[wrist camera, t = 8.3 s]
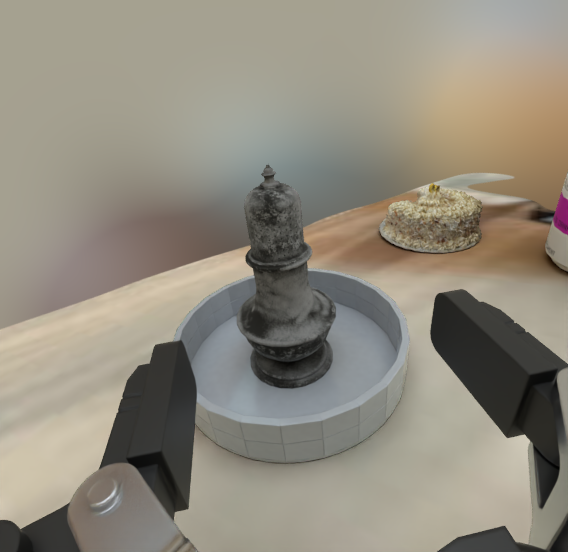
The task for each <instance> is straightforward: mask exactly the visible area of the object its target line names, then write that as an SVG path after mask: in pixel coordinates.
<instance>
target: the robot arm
mask: <svg viewBox="0 0 568 552" xmlns="http://www.w3.org/2000/svg"><path fill="white" fill-rule="evenodd" d="M430 334H431V340H432V343H433V346H434V348H435V349H436V351H437V352H438V353H439V355H440V356H441V357H442V358H443V360H444V361H445V362H446V363H447V364H448V366H449V367H450V368H451V369H452V371H453V372H454V373H455V374H456V376H457V377H458V378H459V379H460V381H461V382H462V383H463V384H464V385H465V387H466V388H467V389H468V390H469V392H470V393H471V394H472V395H473V397H474V398H475V399H476V400H477V402H478V403H479V404H480V405H481V406H482V408H483V409H484V410H485V411H486V413H487V414H488V415H489V416H490V418H491V419H492V420H493V421H494V423H495V424H496V425H497V426H498V427H499V429H500V430H501V431H502V432H503V434H504V435H505V436H506V437H507V438H510V437H515V436H519V435H524V434H525V435H526V436H527V438H528V439H529V440H530V443H529V446H528V459H529V474H530V489H531V504H532V525H531V531H530V536H529V544H524V543H519V542H515V541H514V539H513V538H512V536H511V534H510V533H509V531H508V530H507V528H506V527H505V526H502V527H498V528H494V529H490V530H486V531H482V532H478V533H474V534H470V535H466V536H462V537H458V538H456V539H455V540H453V541H452V542H450V543H449V544H448V545H446V546H445V547H443V548H442V549H440V550H439V551H437V552H568V364H567V363H566V362H565V361H563V360H562V359H561V358H560V357H558V356H557V355H556V354H555V353H553V352H552V351H551V350H550V349H548V348H547V347H546V346H545V345H543V344H542V343H541V342H540V341H538V340H537V339H536V338H535V337H533V336H532V335H531V334H530V333H529V332H525V329H524V328H522V327H521V326H520V325H519V324H517V323H514V320H512V319H511V318H510V317H509V316H507V315H506V314H505V313H504V312H502V311H501V310H500V309H497V308H495V307H493V306H491V305H489V304H487V303H484V302H479V301H478V300H477V299H475V298H474V297H473V296H472V295H471V294H469V293H468V292H467V291H466V290H463V289H460V290H455V291H449V292H444V293H439V294H437V296H436V298H435V302H434V309H433V317H432V324H431V332H430ZM122 397H123V399H121V402H120V405H119V408H118V411H119V412H118V413H117V415H116V418H115V421H114V424H113V427H112V431H111V434H110V437H109V440H108V443H107V446H106V450H105V453H104V456H103V459H102V462H101V465H100V468H99V470H98V471H96V472H95V473H93V474H92V475H91V476H89V477H88V478H87V479H86V480H85V481H84V482H83V483H82V484H81V486H80V487H79V488H78V489H77V491H76V492H75V494H74V496H73V498H72V500H71V502H70V503H68V504H67V505H65V506H64V507H62V508H60V509H58V510H56V511H55V512H53V513H51V514H49V515H47V516H45V517H43V518H41V519H39V520H37V521H35V522H33V523H31V524H30V525H28V526H26V527H24V528H22V529H20V528H19V527H18V526H17V525H16V524H15V523H13V522H11V521H8V520H0V552H198V551H197V549H196V548H195V547H194V545H193V544H192V543H191V542H190V540H189V539H188V538H185V536H184V535H183V534H182V533H181V531H180V530H179V528H178V527H177V525H176V524H175V523H174V514H175V512H177V511H181V510H186V509H188V508H189V495H190V482H191V469H192V455H193V442H194V429H195V416H196V403H197V387H196V381H195V376H194V373H193V370H192V367H191V364H190V361H189V358H188V355H187V352H186V349H185V346H184V343H183V342H182V340H179V341H173V342H168V343H163V344H157V345H155V347H154V349H153V353H152V357H151V361H150V364H145V365H140V366H138V367H137V369H136V370H135V371H134V373H133V374H132V375H131V376H130V378H129V379H128V380H127V383H126V386H125V389H124V393H123V396H122Z"/></svg>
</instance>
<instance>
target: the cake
mask: <svg viewBox="0 0 568 552" xmlns="http://www.w3.org/2000/svg"><path fill="white" fill-rule="evenodd" d="M417 195H418V199H417V201H416V202H412V201H410V202H409V201H408V200H407V201H400V202H396V203H393V204H391V205H389V208H388V215H387V216H386V219H384V221H382V223H381V224H380V227H379V230H380V233H381V235H382V236H383V237H384V238H385V239H387V240H388V241H389V242H391V243H392V244H395V245H396V246H398V247H399V246H400V247H402V248H405V249H411V250H414V251H420V252H431V253H439V252H441V253H447V252H455V251H458V250H463V249H466V248H470V247H471V246H474V245H475V244H476V243H477V242H479V240H480V239H481V235H482V234H481V230H480V229H479V226H478V225H479V221H480V220H479V218H480V215H481V214H480V212H481V211H482V208H483V207H482V206H481V203H482V202H481V201H480V200H479V201H477V199H474V198H473V197H472V196H470V195H466V194H465V192H462V191H460V192H458V191H457V190H455V191H454V190H449V189H448V190H444V189H442V188H440V186H437V185H434V184H433V183H432V184H431V185H430V186H429V187H425V188H423V189H420V190H419V191H418V193H417Z"/></svg>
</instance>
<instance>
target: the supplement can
mask: <svg viewBox="0 0 568 552" xmlns="http://www.w3.org/2000/svg"><path fill="white" fill-rule="evenodd" d="M545 248H546V253H547V254H548V255H549V256H550V257H551V258H552V261H553V262H554V263H555V264H556V265H557V266H558V267H560V268H561V269H563V270H565V271H567V272H568V172H567V176H566V179H565V182H564V185H563V189H562V192H561V195H560V199H559V202H558V205H557V208H556V211H555V215H554V218H553V221H552V224H551V228H550V231H549V234H548V238H547V241H546V244H545Z"/></svg>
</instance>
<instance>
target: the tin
mask: <svg viewBox="0 0 568 552" xmlns="http://www.w3.org/2000/svg"><path fill="white" fill-rule="evenodd" d="M308 280H309V285H310V287H313V288H316V289H318V290H320V291H322V292H324V293H326V294H327V295H328V296H329V297H330V298H331V299H332V300H333V302H334V304H335V306H336V318H335V320H334V322H333V324H332V326H331V329H330V331H329V333H328V335H327V337H326V340H327V341H328V343H329V344H330V346H331V348H332V351H333V361H332V364H331V366H330V369H329V370H328V371H327V372H326V374H325V375H324V376H323V377H321V378H320V379H319V380H317V381H316V382H314V383H312V384H309V385H307V386H304V387H299V388H293V389H288V388H277V387H273V386H270V385H268V384H266V383H264V382H262V381H261V380H260V379H259V378H258V377H257V376H256V375H255V374H254V372H253V370H252V368H251V361H250V357H251V354H252V351H253V349H254V348H253V347H252V346H251V344H250V343H249V342H248V340H247V338H246V337H245V336H244V335H243V334H242V333H241V332H240V330H239V328H238V326H237V313H238V311H239V308H240V307H241V306H242V305H243V303H244V302H245V301H246V300H247V299H249V298H250V297H251V296H253V295H254V294H256V283H255V277H254V275H253V276H249V277H245V278H243V279H240V280H238V281H236V282H233V283H231V284H228V285H226V286H224V287H222V288H221V289H219V290H217V291H216V292H214V293H212V294H211V295H209V296H207V297H206V298H204V299H203V300H202V301H201V302H200V303H199V304H198V305H197V306H195V307H194V308H193V309H192V310H191V311H190V312H189V313H188V314H187V316H186V317H185V319H184V320H183V321H182V323H181V324H180V326H179V327H178V329H177V330H176V334H175V337H174V340H173V341H179V340H182V342H183V343H184V346H185V349H186V352H187V355H188V358H189V361H190V364H191V367H192V370H193V373H194V376H195V381H196V387H197V403H196V416H195V424H196V425H197V426H198V428H199V429H200V430H201V431H202V432H203V433H204V434H205V435H206V436H207V437H208V438H210V439H211V440H212V441H214V442H215V443H216V444H218V445H219V446H221V447H223V448H225V449H227V450H229V451H231V452H233V453H235V454H238V455H241V456H244V457H247V458H250V459H255V460H260V461H265V462H278V463H293V462H306V461H311V460H316V459H321V458H325V457H328V456H331V455H334V454H337V453H340V452H343V451H345V450H347V449H349V448H351V447H353V446H355V445H357V444H359V443H360V442H362V441H363V440H365V439H366V438H368V437H369V436H370V435H372V434H373V433H374V432H375V431H376V430H377V429H378V428H380V427H381V426H382V425H383V424H384V423H385V421H386V420H387V419H388V418H389V416H390V415H391V414H392V413H393V411H394V409H395V407H396V406H397V404H398V402H399V400H400V398H401V395H402V391H403V388H404V382H405V378H406V372H407V363H408V353H409V343H410V338H409V332H408V327H407V322H406V318H405V317H404V315H403V314H402V312H401V310H400V309H399V307H398V306H397V304H396V303H395V301H394V300H393V299H391V298H390V297H389V296H388V295H387V294H385V293H384V292H383V291H382V290H381V289H380V288H378V287H376V286H374V285H372V284H370V283H368V282H366V281H364V280H362V279H360V278H358V277H354V276H351V275H348V274H344V273H341V272H337V271H330V270H323V269H316V268H308Z"/></svg>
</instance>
